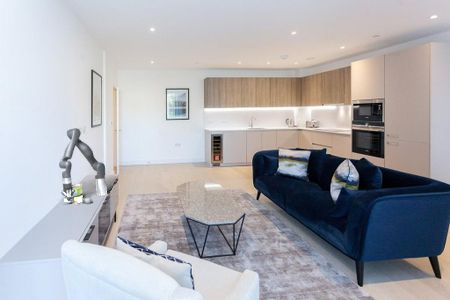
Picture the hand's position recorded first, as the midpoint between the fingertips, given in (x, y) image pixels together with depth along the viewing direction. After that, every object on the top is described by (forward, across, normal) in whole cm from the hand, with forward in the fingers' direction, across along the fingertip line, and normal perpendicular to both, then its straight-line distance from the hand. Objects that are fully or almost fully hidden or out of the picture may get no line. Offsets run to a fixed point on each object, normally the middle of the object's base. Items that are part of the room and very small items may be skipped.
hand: (68, 201), depth 328 cm
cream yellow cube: (+1, -7, 0) cm, 7 cm away
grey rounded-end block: (+3, -12, +12) cm, 18 cm away
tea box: (+4, -10, -12) cm, 16 cm away
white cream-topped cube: (+1, -7, +7) cm, 10 cm away
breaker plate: (+3, -10, +4) cm, 12 cm away
